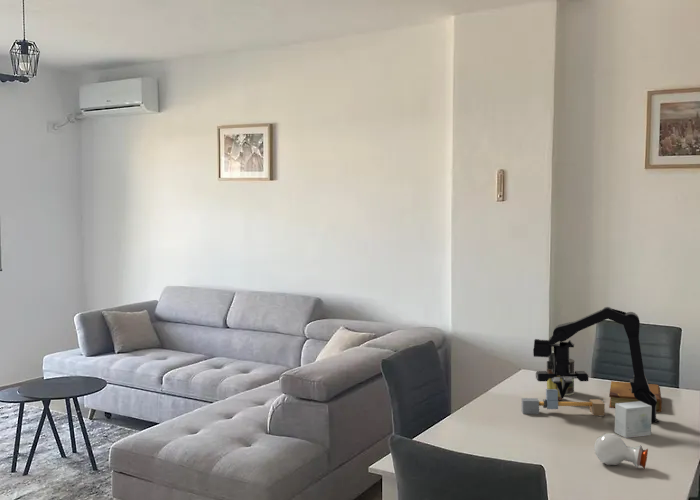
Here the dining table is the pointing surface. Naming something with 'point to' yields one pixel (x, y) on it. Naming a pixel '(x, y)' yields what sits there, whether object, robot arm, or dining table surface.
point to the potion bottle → (618, 451)
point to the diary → (630, 394)
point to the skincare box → (633, 419)
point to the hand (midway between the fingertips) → (562, 398)
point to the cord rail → (533, 405)
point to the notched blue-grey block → (552, 398)
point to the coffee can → (571, 387)
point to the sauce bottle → (549, 383)
